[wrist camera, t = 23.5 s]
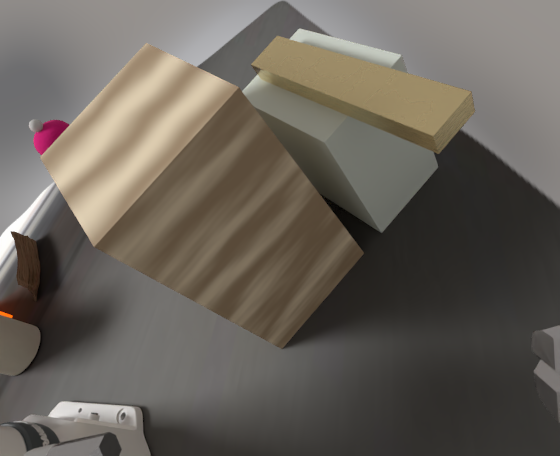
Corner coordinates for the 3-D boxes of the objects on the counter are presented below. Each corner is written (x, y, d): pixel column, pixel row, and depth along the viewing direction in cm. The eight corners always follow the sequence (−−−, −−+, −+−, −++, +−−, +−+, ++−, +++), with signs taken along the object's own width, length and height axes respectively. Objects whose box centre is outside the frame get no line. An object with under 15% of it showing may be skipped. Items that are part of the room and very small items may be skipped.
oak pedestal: (364, 253, 48) (238, 87, 28) (281, 349, 47) (94, 246, 27) (280, 193, 58) (146, 42, 39) (211, 271, 57) (39, 157, 38)
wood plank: (31, 246, 84) (7, 234, 80) (38, 239, 84) (15, 227, 80) (37, 301, 74) (10, 291, 70) (46, 294, 73) (19, 283, 70)
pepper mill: (156, 180, 74) (56, 100, 59) (136, 216, 71) (28, 143, 56) (131, 177, 78) (32, 102, 63) (111, 211, 76) (4, 142, 61)
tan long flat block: (475, 111, 30) (471, 91, 28) (438, 154, 30) (433, 135, 28) (286, 51, 44) (277, 35, 43) (260, 79, 44) (251, 64, 43)
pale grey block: (438, 167, 48) (401, 55, 36) (381, 233, 48) (324, 142, 35) (352, 128, 58) (299, 28, 45) (303, 183, 57) (236, 97, 45)
